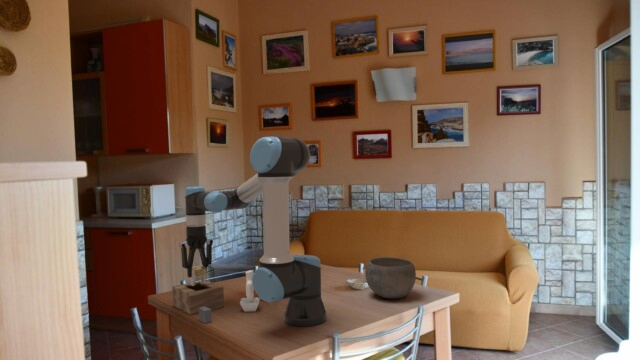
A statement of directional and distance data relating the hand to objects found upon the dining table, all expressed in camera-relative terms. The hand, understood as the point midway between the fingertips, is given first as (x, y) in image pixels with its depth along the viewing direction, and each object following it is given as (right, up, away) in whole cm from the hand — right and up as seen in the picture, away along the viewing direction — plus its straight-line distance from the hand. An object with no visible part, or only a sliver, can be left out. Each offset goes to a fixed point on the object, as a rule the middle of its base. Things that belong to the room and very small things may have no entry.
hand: (197, 283), depth 181 cm
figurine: (+22, -9, -5) cm, 24 cm away
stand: (+7, -9, -17) cm, 21 cm away
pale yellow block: (0, +4, 0) cm, 4 cm away
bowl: (+78, -7, +9) cm, 79 cm away
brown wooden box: (0, -9, 0) cm, 9 cm away
